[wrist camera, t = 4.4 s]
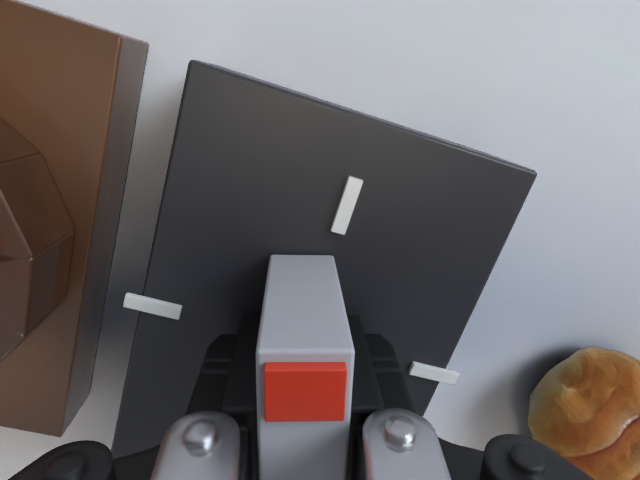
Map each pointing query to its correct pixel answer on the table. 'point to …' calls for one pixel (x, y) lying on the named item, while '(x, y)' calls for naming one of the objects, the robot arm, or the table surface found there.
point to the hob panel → (308, 234)
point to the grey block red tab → (303, 372)
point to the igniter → (58, 203)
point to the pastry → (591, 413)
